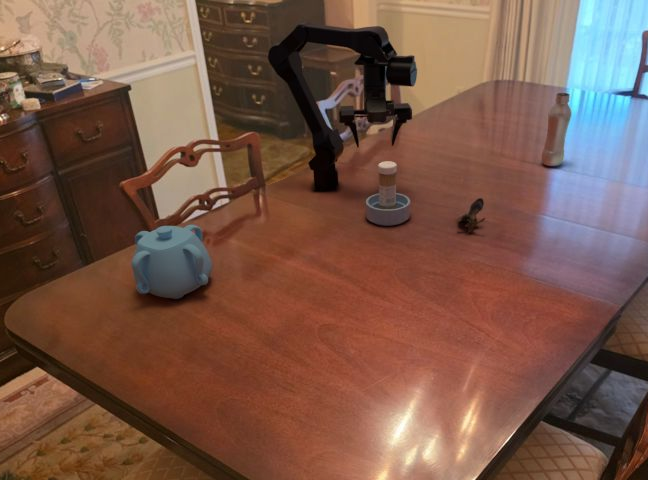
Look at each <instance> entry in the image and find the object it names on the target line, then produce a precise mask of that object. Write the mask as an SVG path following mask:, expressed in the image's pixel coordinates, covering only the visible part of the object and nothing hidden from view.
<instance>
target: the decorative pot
mask: <svg viewBox="0 0 648 480" xmlns="http://www.w3.org/2000/svg"><path fill="white" fill-rule="evenodd" d="M203 235H204V234H203V230H202V229H201V227H200V226H198V225H195V224H188V225H186V226H184V227H181V226H177V225H176V226H175V225H161V226H158V227H157V228H156V229H153V230H152V231H147V230H141V231H139V232H138V233H136V235H135V236H134V242H135V245H136V246H135V251H134V255H133V257H132V258H131V270H132V272H133V278H134V281H135V283H136V286H135V289H136V291H137V293H139V294H141V295H145V294H148V293H149V294H152V295H153V296H156V297H159V298H166V299H173V300H179V299H181V298H183V297H184V295H187V294H189V293H191V292H194V291H196V290H197V289H199V288H200V287H201V286H206V285H207V284H208V283H209V277H210V275H211V274H212V270H213V261H212V259H211V256H210V254H209V252H208V249H207V248H206V247H205V245H204V243H203V241H204V237H203Z"/></svg>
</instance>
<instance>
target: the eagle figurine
mask: <svg viewBox="0 0 648 480" xmlns="http://www.w3.org/2000/svg"><path fill="white" fill-rule="evenodd" d="M484 204H485V202H484V199H483V198H482V197H479V198H477V199H475V201H473V202H472V203H471V204H470V207H469V211H468V213H467V212H464V213H462V214H460V215H459V216H458V217H457V218H456V221H457V222H458V223H461V222H462V221H464V222H465V223H466V224H465V225H464V226H465V227H467V228H468V231H467V234H468V235H469V234H470V233H471V231H473V230H474V228H475V227H478V228H480V224H481V223H482V222H484V221H485V220H486V217H483V218H481V219H479V220H478V219H477V215H478V214H479V212H481V211H482V210H483V208H484Z"/></svg>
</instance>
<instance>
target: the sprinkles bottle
mask: <svg viewBox="0 0 648 480" xmlns="http://www.w3.org/2000/svg"><path fill="white" fill-rule="evenodd" d="M397 171H398V166H397V163H396V162H394V161H390V160H385V161H381V162H380V163H378V165H377V172H378V193H379V209H389V210H390V209H396V193H397Z"/></svg>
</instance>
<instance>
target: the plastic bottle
mask: <svg viewBox="0 0 648 480" xmlns="http://www.w3.org/2000/svg"><path fill="white" fill-rule="evenodd" d="M570 96H571V95H570V93H568V92H558V93H556V96H555V99H554V104H553V105H552V107H551V108H550V109H549V112H548V115H547V133H546V138H545V143H544V148H543V149H542V153H541V162H542V164H543V165H545V166H547V167H558V166H560V165H561V164H562V163H563V161H564V160H565V159H564V158H565V143H566V136H567V132H568V128H569V126H570V125H569V124H570V121H571V117H572V109H571V107H570V105H569V102H570V98H571V97H570Z"/></svg>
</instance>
